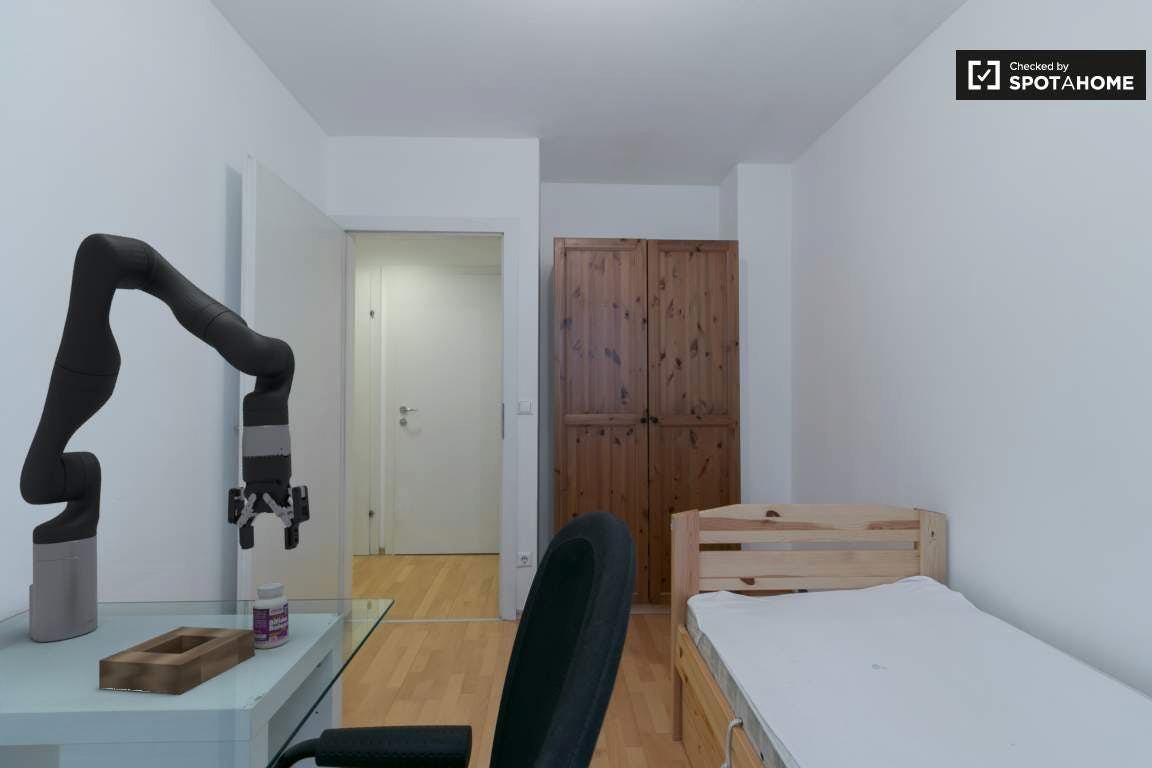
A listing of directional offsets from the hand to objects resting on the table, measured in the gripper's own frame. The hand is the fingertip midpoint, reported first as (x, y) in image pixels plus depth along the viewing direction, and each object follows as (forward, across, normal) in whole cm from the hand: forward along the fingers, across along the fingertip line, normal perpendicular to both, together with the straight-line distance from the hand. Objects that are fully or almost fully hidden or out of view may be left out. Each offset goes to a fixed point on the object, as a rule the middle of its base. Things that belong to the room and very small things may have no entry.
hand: (269, 548), depth 105 cm
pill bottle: (+16, 0, 0) cm, 16 cm away
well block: (+16, -6, -12) cm, 21 cm away
